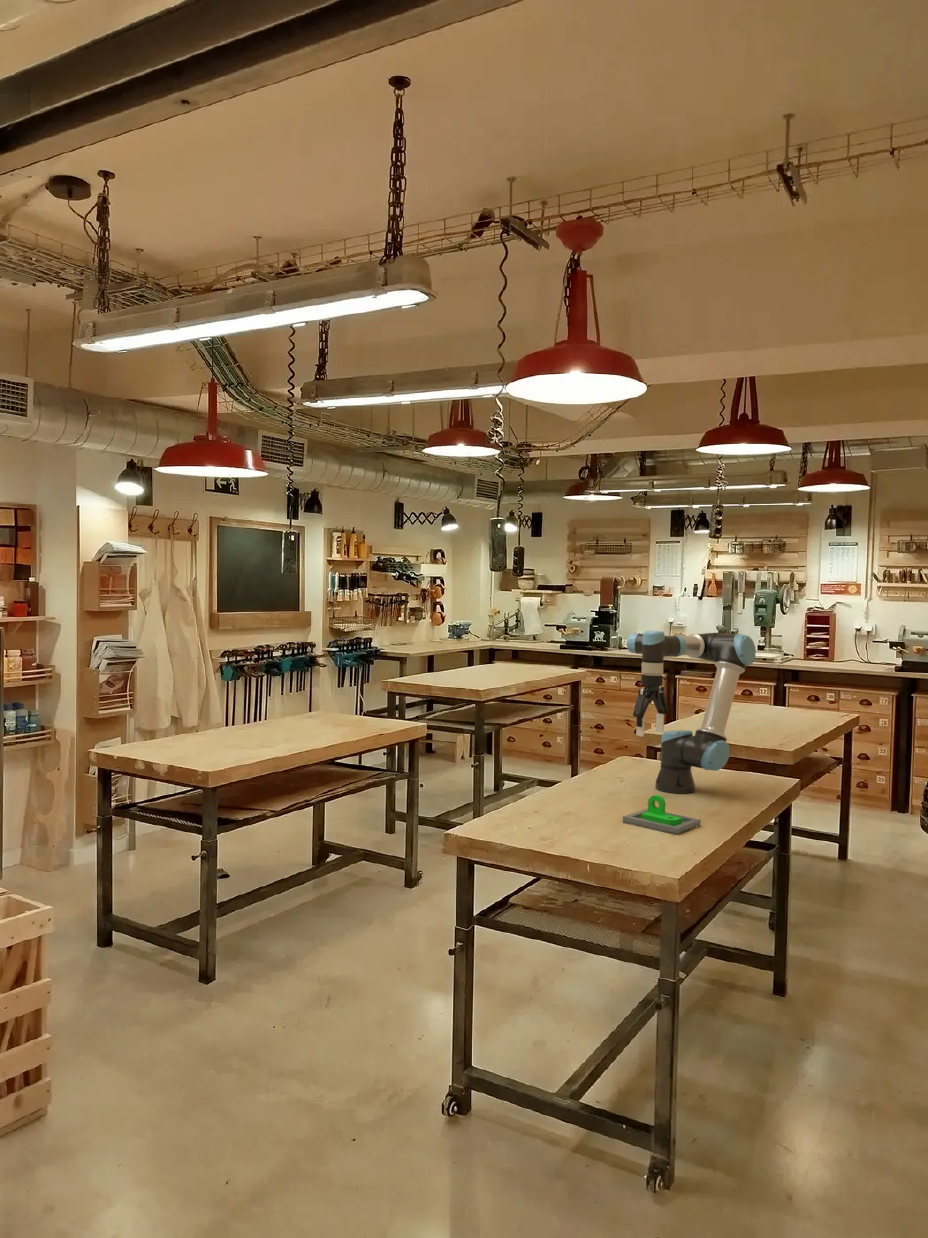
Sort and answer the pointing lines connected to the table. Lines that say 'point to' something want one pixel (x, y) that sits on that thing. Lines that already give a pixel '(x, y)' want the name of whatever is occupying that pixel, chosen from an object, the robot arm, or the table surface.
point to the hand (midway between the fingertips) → (650, 734)
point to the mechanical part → (659, 812)
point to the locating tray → (685, 826)
